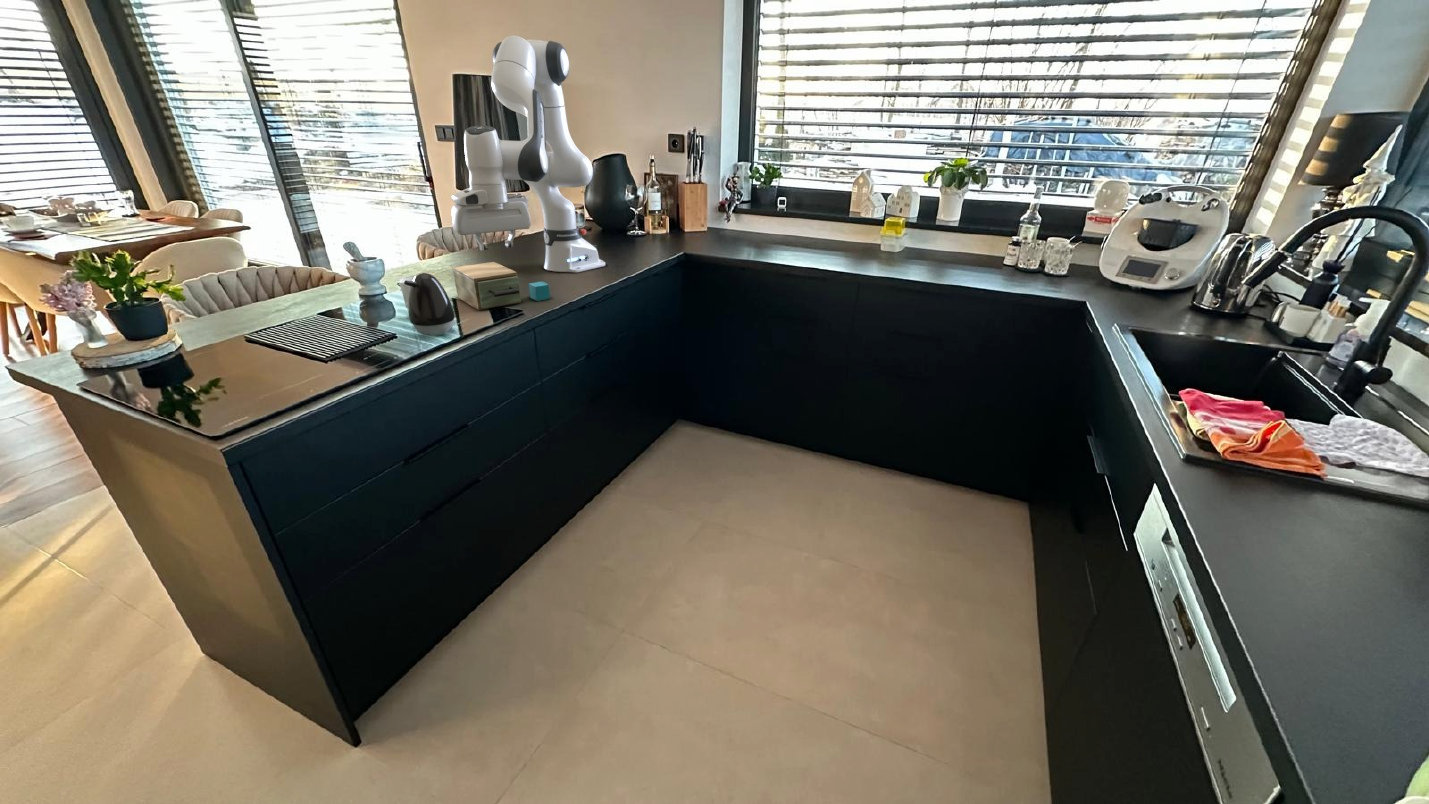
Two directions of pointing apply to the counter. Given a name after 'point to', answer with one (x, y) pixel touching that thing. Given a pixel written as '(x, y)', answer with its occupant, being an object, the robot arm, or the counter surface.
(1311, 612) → the counter surface
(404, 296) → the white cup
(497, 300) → the green drawer
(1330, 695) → the counter surface
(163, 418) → the counter surface
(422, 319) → the pump dispenser
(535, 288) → the teal cube
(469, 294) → the wooden drawer box
